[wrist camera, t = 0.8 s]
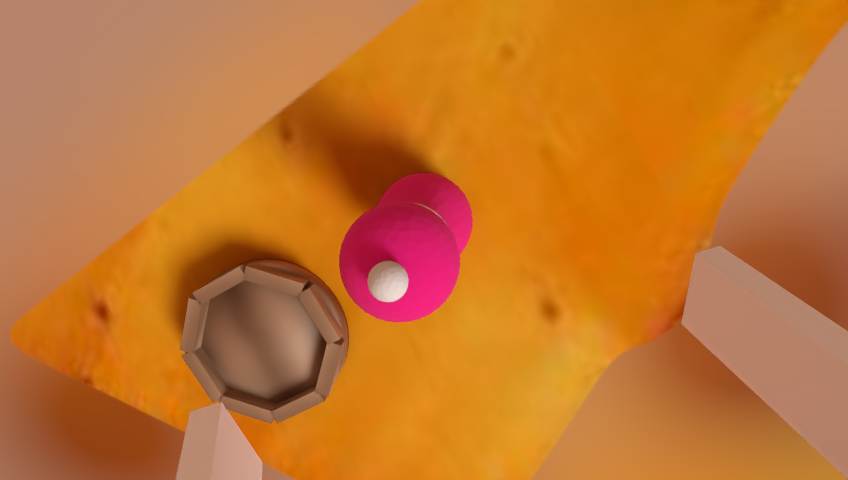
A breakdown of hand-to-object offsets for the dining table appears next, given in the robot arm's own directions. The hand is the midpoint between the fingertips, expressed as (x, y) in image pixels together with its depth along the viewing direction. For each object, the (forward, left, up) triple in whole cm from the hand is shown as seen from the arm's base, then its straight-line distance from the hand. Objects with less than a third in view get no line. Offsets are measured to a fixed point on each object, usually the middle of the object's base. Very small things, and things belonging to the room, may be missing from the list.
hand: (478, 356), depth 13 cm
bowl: (+21, +1, -26) cm, 34 cm away
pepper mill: (+3, -2, -26) cm, 27 cm away
